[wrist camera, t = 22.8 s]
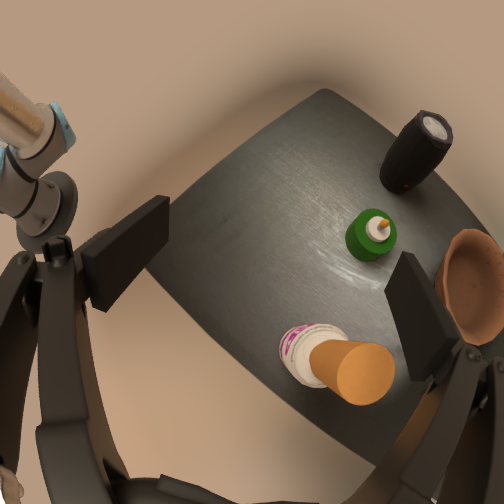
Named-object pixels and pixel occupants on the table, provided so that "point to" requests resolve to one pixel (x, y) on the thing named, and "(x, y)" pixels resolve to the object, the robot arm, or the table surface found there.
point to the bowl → (473, 285)
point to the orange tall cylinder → (353, 369)
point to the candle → (371, 235)
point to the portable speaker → (416, 152)
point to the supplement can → (306, 349)
